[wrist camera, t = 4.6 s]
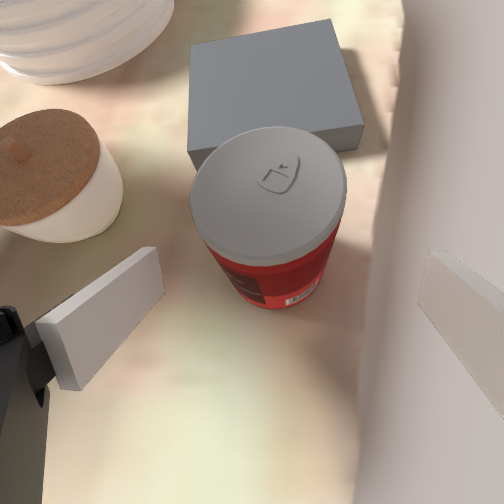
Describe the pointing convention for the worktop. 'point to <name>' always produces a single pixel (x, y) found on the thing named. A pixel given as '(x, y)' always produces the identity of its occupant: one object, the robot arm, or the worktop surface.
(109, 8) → the plate stack
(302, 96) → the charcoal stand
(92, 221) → the lidded jar
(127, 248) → the worktop surface
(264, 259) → the canned food
